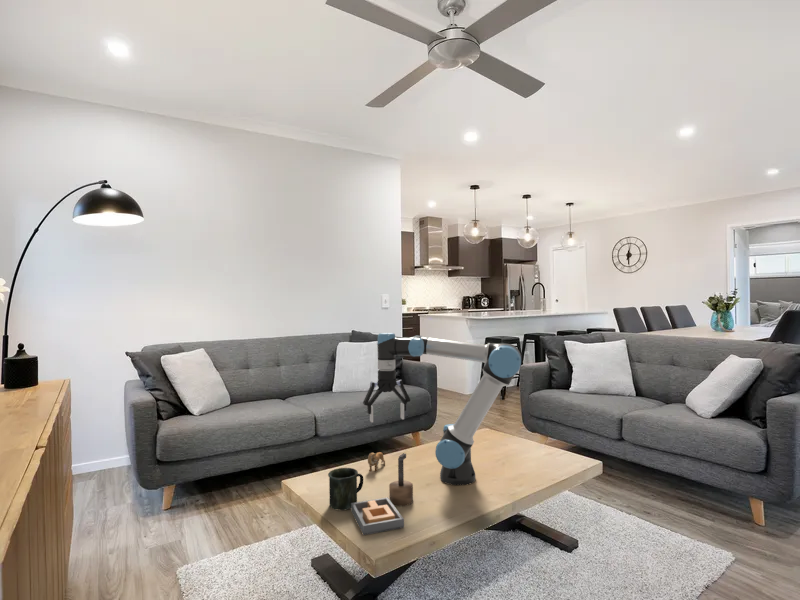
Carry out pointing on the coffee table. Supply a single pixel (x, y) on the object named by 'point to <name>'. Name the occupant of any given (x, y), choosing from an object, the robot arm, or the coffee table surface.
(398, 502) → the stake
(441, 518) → the coffee table surface
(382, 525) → the tray
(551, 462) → the coffee table surface
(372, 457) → the lion figurine
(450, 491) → the coffee table surface
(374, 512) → the orange square frame paddle
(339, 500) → the mug
